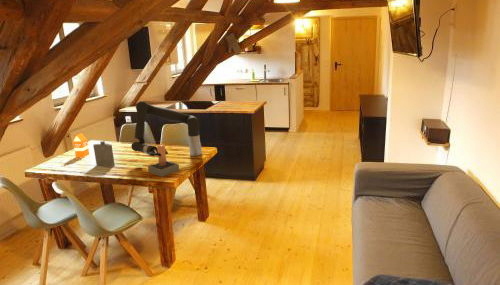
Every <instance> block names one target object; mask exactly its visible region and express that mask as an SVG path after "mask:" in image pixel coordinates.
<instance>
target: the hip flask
mask: <svg viewBox="0 0 500 285" xmlns="http://www.w3.org/2000/svg"><path fill="white" fill-rule="evenodd" d="M92 147H93V151H94V157H95V163H96V167H111V168H113V167H115V156H114V153H113V145H112V144H110V143H106V141H104V140H102V141H99V143H95V144H93V146H92Z"/></svg>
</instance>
